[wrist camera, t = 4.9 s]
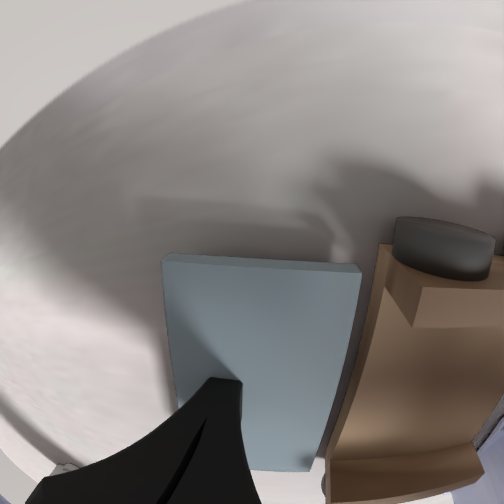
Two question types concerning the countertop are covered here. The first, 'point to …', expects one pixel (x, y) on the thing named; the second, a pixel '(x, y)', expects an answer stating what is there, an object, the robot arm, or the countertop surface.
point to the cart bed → (421, 368)
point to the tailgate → (263, 344)
